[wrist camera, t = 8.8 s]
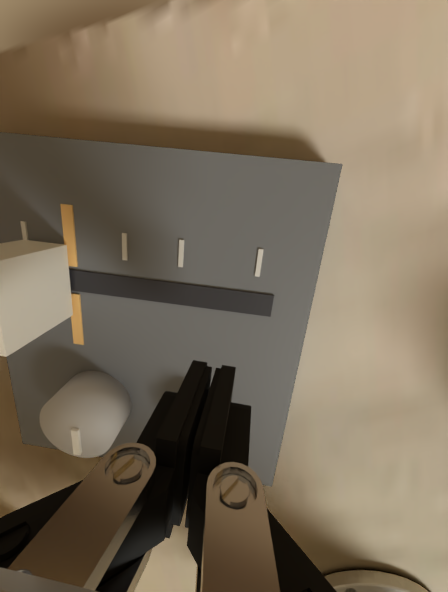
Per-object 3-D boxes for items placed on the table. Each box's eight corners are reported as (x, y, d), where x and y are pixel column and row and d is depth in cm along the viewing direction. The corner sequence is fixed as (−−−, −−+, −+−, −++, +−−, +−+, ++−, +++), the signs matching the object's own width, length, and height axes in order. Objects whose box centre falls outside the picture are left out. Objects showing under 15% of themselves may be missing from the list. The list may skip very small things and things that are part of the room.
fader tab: (66, 244, 15) (-16, 264, 10) (73, 314, 16) (2, 359, 11) (23, 239, 15) (-77, 256, 10) (33, 309, 16) (-52, 351, 12)
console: (330, 168, 14) (364, 155, 10) (270, 460, 21) (274, 529, 16) (-1, 137, 15) (-102, 112, 11) (42, 422, 22) (-10, 477, 18)
